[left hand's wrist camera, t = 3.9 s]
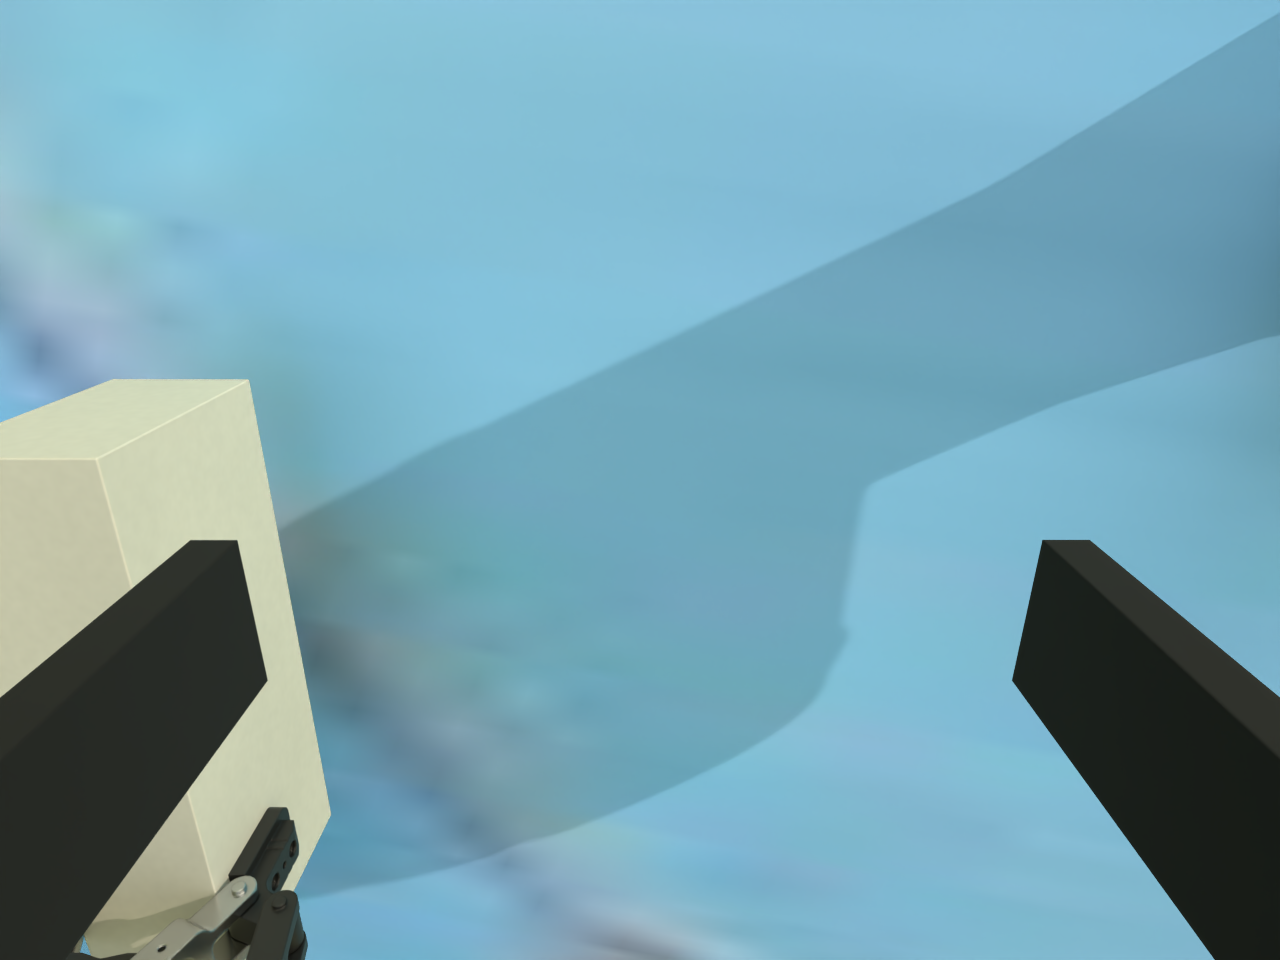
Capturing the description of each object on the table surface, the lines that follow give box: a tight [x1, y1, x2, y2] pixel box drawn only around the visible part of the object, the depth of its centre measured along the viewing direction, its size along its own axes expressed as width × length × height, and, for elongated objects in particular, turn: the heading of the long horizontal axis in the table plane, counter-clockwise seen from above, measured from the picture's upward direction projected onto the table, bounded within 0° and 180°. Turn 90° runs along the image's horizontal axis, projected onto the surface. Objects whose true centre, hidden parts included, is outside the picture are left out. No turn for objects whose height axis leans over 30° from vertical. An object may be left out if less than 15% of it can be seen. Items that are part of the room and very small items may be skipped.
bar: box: [0, 379, 331, 960], centre depth 31 cm, size 23×6×9 cm, turn 0°
